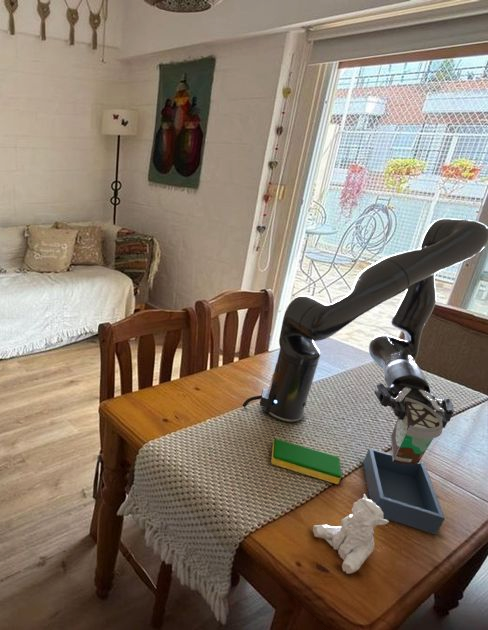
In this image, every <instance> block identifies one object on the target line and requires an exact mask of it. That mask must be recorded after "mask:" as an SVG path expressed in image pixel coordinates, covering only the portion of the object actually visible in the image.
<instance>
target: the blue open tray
mask: <svg viewBox="0 0 488 630" xmlns="http://www.w3.org/2000/svg"><path fill="white" fill-rule="evenodd" d="M362 465H363V470H364V474H365V480H366V485H367V490H368V491H367V492H368V497H369V499H370V500H372V501H373V502H375V503H376V505H377V506H379V507H380V508H381V510H382V512H383V516H384V518H383V519H386V520H388V521H389V520H390V521H392V522H395V523H399V524H402V525H404V526H408V527H411V528H414V529H416V530H420V531H423V532H426V533H429V534H433V535H436V536H437V534H438V532H439V530H440V529H441V527H442V525H443V523H444V521H445V519H446V517H445V515H444V512H443V509H442V506H441V504H440V501H439V499H438V496H437V493H436V490H435V488H434V485H433V482H432V479H431V477H430V475H429V472H428V469H427V467H426V464H425V463H424V462H421V461H419V462H418V463H416V464H413V465H405V464H399V463H395V462H393V457H392V453H389V452H385V451H381V450H377V449H374V448H370V447H368V449H367V452H366V454H365V457H364V460H363V462H362Z"/></svg>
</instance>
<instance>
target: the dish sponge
mask: <svg viewBox="0 0 488 630" xmlns="http://www.w3.org/2000/svg"><path fill="white" fill-rule="evenodd" d="M270 460H271V461H270V462H271V464H272V465H274V466H276V467H281V468H283V469H287V470H290V471H293V472H296V473H299V474H302V475H303V474H304V475H306V476H309V477H313V478H316V479H319V480H323V481H326V482H329V483H332V484H335V485H339V484H340V481H341V478H342V469H341V461H340V457H339V456H337V455H334V454H330V453H326V452H324V451H319V450H316V449H313V448H310V447H306V446H303V445H298V444H295V443H292V442H288V441H286V440H282V439H278V438H274V440H273V443H272V448H271V459H270Z"/></svg>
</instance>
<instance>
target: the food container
mask: <svg viewBox="0 0 488 630" xmlns="http://www.w3.org/2000/svg"><path fill="white" fill-rule="evenodd" d="M403 405H404V407H405V410H406V414H405V417H404V419H403V420H400V419H398V418H397V420H396V422H395V425H394V427H393V430H392V433H391V434H390V441H391V442H390V443H391V454H392V457H393V462H395V463H399V464H405V465H413V464H416V463H418V462H421V459H423V456H424V455H425V453H426V451H427V450H428V449H429V447H430V444H431V443H432V442H433V440H434V439H436V438H438V437H439V436H441V435H442V433H443V429H442V427H443V424H442V419H441V417H440V416H439V415H438V414H437V413H436V410H433V409H431V408H430V407H428V406H426V405H425V404H423V403H421V402H418V401H416V400H413V399H410V398H407V397H406V398H405V400H404V402H403Z"/></svg>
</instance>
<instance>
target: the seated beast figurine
mask: <svg viewBox="0 0 488 630" xmlns="http://www.w3.org/2000/svg"><path fill="white" fill-rule="evenodd" d="M340 523H341V524H340V525H338V526H334V525H328V524H314V525H313V526H312V533H313V536H314V537H316V538H318V539H323V540H324V541H326V542H327V543H328V544H329V545H330V547H333V549H332V550H334V551H336V550H337V555H338V556H339V558H341V559H342V560H343V561H342V564H341V568H342V571H343V572H345V574H348V575H349V574H354V573H356V572H357V571H358V570H360V568H361V567H362V565H363V564H364V563H365V561H366V560H367V559H368V557H370V556H371V554H372V553H373V552H374V551H375V545H376V543H375V541H374V540H375V537H374V534H375V531H374V528H376V527H377V526H385V525H387V524H388V523H390V521H389V519H386V518H384V516H383V512H382V510H381V508H380V507H379V506H377V505H376V503H375V502H373V501H372V500H370V498H368V496H367V494H365V493H363V497H362V498H360V499H357V500H356V501H355V502H353V505H352V508H351V513H349V514H348V516H345V517H344V518H341V520H340Z"/></svg>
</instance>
